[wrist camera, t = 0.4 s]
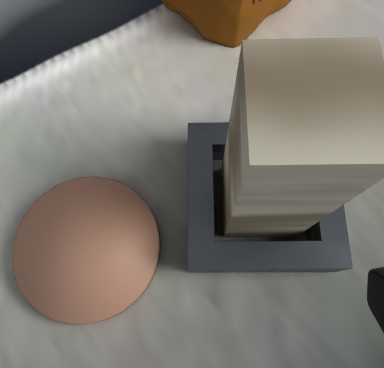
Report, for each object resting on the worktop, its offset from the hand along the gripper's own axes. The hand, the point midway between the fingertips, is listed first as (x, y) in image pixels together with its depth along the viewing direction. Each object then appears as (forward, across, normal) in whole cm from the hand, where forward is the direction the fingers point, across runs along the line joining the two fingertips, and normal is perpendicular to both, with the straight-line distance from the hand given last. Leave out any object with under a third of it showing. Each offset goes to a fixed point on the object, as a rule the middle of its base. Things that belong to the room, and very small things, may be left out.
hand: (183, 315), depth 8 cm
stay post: (+14, -5, +4) cm, 16 cm away
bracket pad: (+14, +6, +5) cm, 16 cm away
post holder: (+14, -5, +4) cm, 16 cm away
